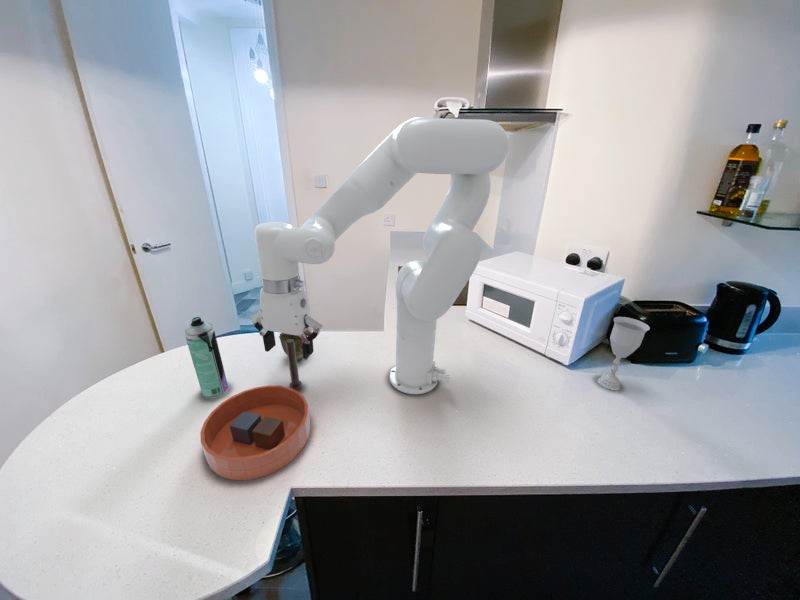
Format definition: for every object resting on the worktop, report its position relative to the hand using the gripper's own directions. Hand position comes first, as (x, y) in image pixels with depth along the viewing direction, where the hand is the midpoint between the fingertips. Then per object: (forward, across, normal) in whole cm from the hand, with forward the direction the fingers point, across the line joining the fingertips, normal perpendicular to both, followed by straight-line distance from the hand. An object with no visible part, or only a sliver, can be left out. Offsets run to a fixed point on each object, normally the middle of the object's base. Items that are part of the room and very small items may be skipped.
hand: (289, 352), depth 73 cm
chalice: (+10, -78, -24) cm, 82 cm away
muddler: (+11, -1, 0) cm, 11 cm away
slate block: (+10, +1, +15) cm, 18 cm away
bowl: (+11, -2, +15) cm, 18 cm away
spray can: (+12, +17, +6) cm, 22 cm away
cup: (+11, +6, -12) cm, 18 cm away
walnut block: (+10, -4, +15) cm, 19 cm away
